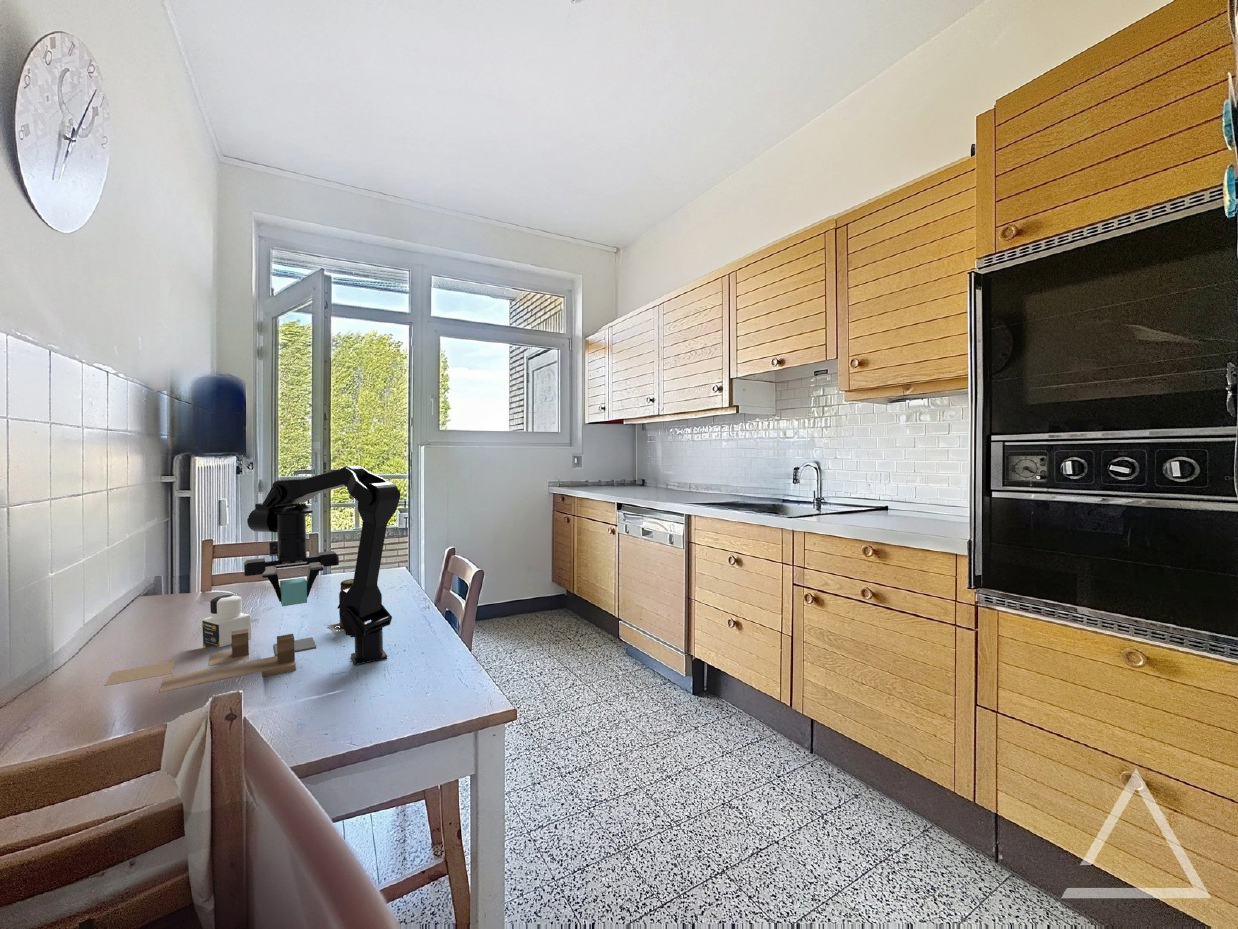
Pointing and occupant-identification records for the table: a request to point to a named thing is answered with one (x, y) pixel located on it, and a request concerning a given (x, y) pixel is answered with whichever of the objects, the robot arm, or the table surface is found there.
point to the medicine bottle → (224, 621)
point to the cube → (293, 591)
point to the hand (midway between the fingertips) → (293, 599)
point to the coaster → (301, 645)
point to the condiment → (344, 585)
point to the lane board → (140, 673)
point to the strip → (239, 667)
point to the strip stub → (233, 649)
